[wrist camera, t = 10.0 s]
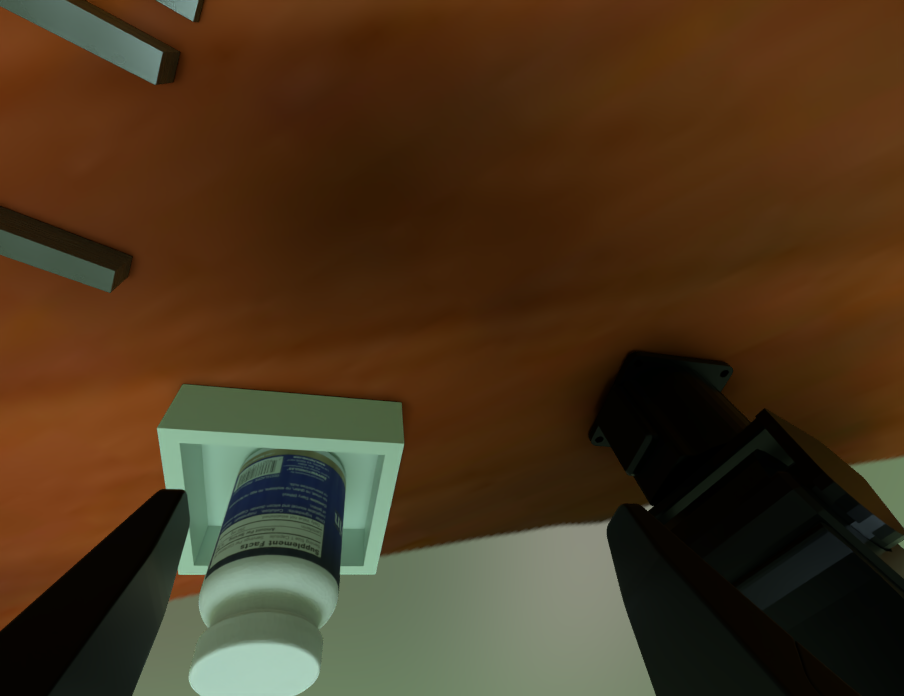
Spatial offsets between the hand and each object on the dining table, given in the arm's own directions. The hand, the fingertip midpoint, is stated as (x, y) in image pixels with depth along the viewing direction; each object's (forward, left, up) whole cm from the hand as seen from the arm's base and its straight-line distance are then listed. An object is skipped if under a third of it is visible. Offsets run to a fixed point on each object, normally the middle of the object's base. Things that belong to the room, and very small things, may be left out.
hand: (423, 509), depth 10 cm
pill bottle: (+4, +13, -13) cm, 18 cm away
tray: (+4, +13, -13) cm, 19 cm away
